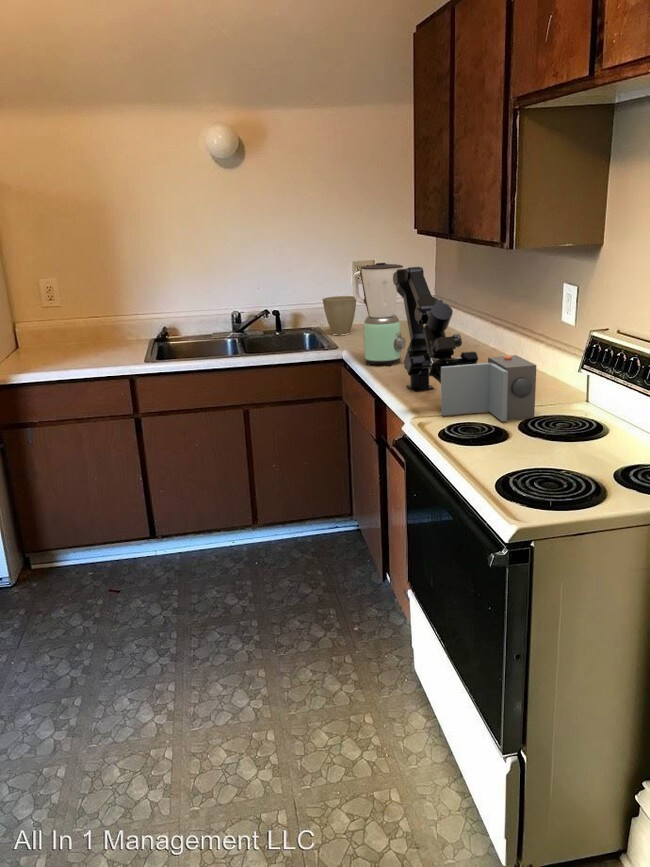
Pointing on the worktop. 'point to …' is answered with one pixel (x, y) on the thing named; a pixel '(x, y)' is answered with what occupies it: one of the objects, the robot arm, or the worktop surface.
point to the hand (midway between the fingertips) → (448, 389)
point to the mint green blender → (380, 313)
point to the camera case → (518, 386)
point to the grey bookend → (474, 389)
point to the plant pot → (340, 313)
